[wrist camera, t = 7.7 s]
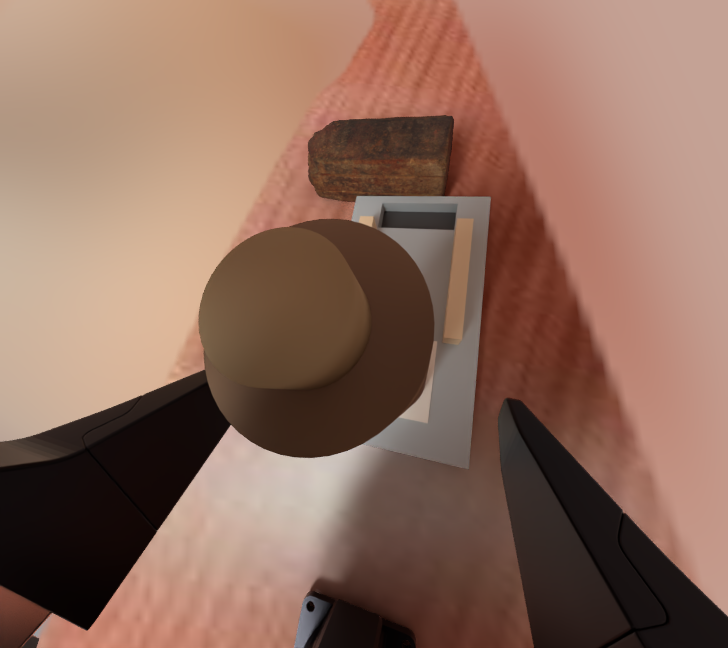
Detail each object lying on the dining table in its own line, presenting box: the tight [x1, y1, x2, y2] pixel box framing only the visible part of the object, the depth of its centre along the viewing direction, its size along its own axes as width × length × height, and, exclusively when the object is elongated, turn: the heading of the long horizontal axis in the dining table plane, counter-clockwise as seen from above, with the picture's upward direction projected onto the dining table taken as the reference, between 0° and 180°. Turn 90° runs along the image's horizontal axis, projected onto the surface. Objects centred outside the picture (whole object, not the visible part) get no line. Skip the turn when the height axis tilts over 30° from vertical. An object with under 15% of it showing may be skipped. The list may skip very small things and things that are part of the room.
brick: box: [308, 115, 454, 202], centre depth 21 cm, size 11×4×5 cm, turn 77°
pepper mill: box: [199, 219, 435, 458], centre depth 10 cm, size 4×4×14 cm
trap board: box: [352, 196, 491, 470], centre depth 18 cm, size 18×10×3 cm, turn 169°
